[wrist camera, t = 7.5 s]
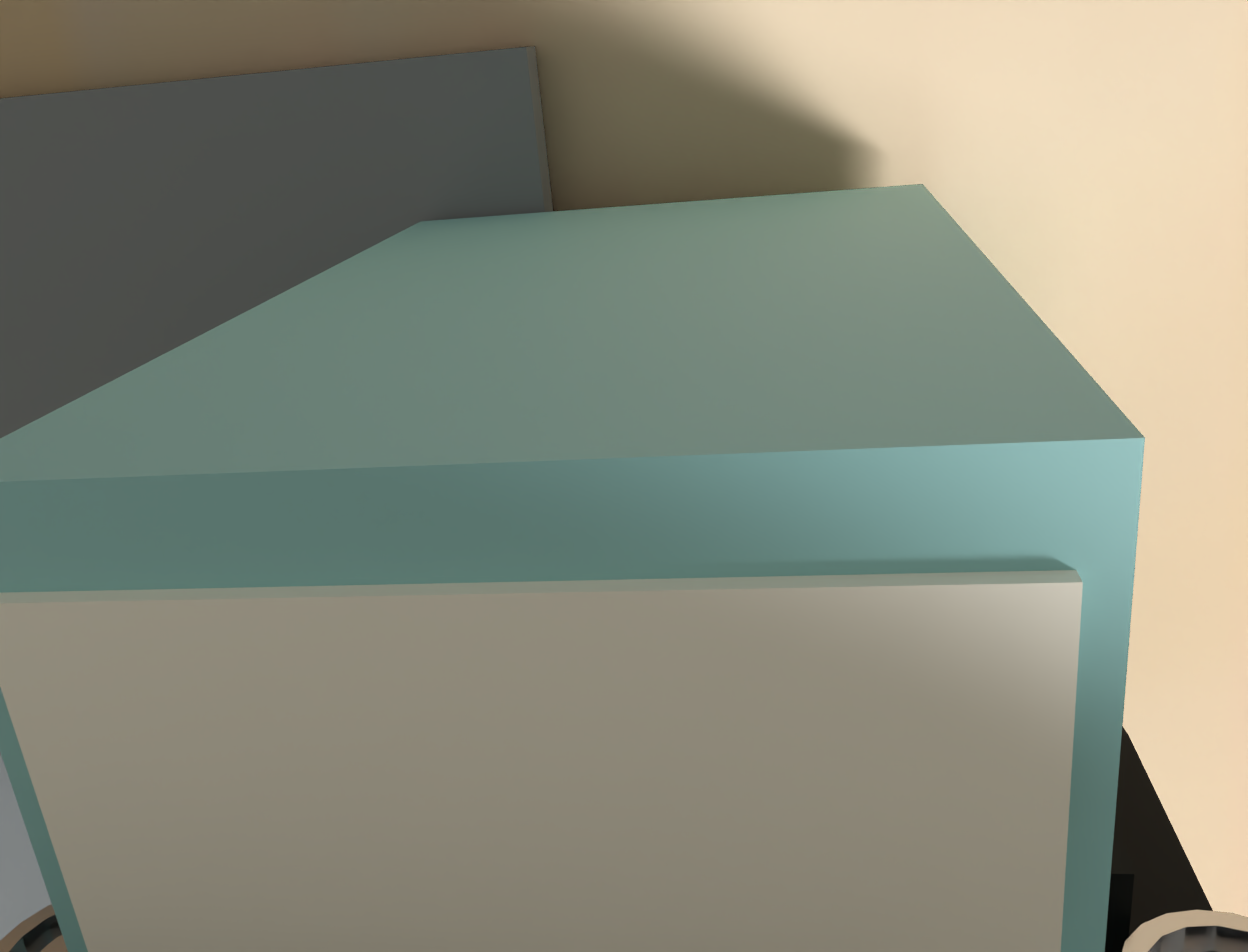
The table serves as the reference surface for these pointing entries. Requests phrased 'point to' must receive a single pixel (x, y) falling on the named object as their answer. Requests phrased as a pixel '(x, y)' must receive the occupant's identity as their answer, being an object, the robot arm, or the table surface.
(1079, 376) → the teal rectangular block
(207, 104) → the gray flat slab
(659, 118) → the table surface
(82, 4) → the table surface
